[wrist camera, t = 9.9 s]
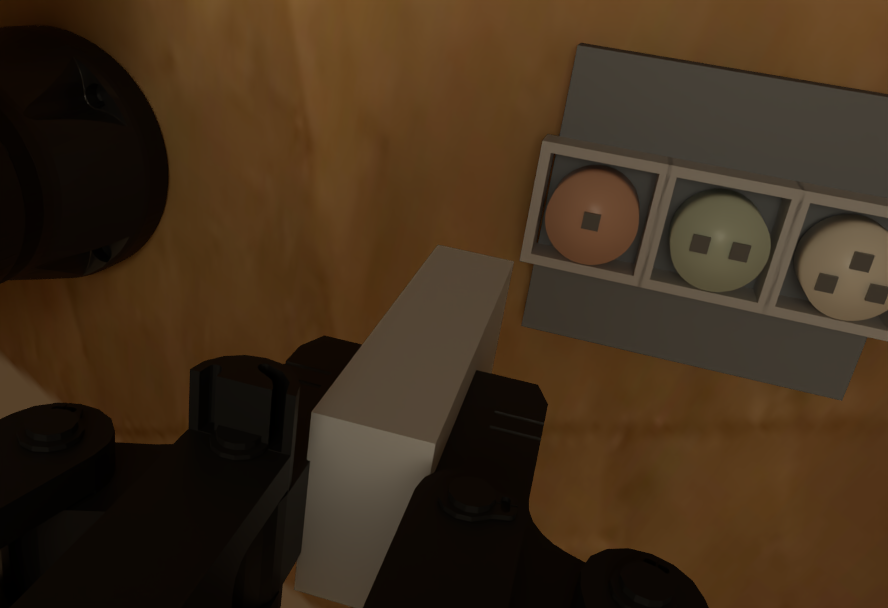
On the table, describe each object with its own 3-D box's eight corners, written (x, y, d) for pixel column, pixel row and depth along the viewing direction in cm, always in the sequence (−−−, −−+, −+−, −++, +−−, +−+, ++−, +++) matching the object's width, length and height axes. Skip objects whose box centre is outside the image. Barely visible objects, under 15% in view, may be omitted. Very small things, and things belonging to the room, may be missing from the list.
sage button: (659, 264, 40) (659, 282, 37) (682, 180, 38) (684, 193, 36) (748, 283, 39) (754, 302, 36) (775, 198, 37) (784, 212, 35)
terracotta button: (543, 239, 41) (536, 255, 38) (560, 157, 39) (554, 167, 37) (628, 258, 40) (626, 274, 38) (649, 174, 38) (648, 186, 36)
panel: (516, 310, 45) (504, 337, 42) (569, 40, 39) (560, 45, 36) (845, 386, 42) (863, 422, 39) (956, 105, 36) (990, 117, 33)
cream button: (781, 290, 39) (790, 310, 36) (810, 205, 37) (821, 220, 34) (875, 310, 38) (890, 332, 35) (909, 224, 36) (927, 241, 34)
